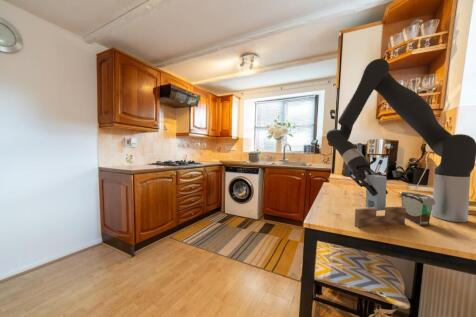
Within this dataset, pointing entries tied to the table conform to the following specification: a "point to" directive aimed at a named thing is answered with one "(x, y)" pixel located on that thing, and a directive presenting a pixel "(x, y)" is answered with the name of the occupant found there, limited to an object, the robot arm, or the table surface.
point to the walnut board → (379, 217)
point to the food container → (417, 207)
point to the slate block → (380, 187)
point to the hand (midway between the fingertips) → (380, 194)
